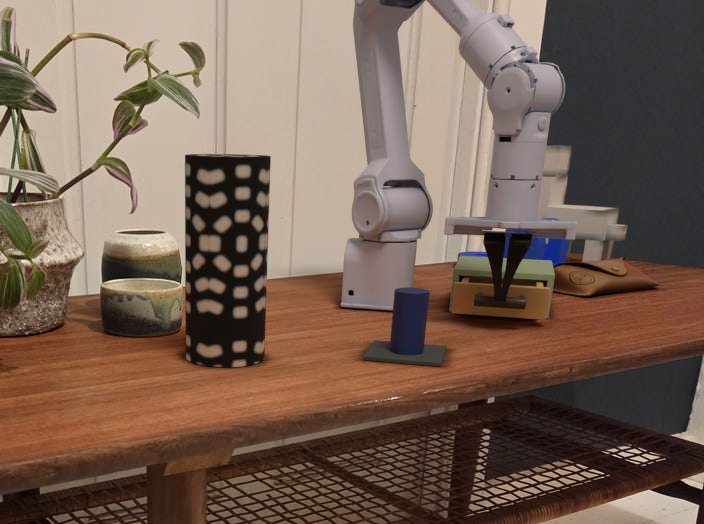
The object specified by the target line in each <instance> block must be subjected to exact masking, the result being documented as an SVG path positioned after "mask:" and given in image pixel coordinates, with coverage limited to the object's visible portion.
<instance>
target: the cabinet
mask: <svg viewBox="0 0 704 524" xmlns="http://www.w3.org/2000/svg"><path fill="white" fill-rule="evenodd" d="M457 259H458V258H457ZM506 262H507V258H503V266H502V278H504V274H505V269H506ZM464 276H477V277H492V272H491V267H490V263H489V260H488V257H475V256H460V257H459V259H458V261H457V260H456V263H455V266H454V268H453V271H452V280H451V290H450V298H449V308H448V311H449V313H450V312H452V303H453V294H454V285H455V282H462V280H463V277H464ZM513 279H528V280H543V287H550V295H549V302H548V309H547V315H546V319H549V317H550V311H551V304H552V298H553V297H552V296H553V292H554V291H553V285H554V279H555V273H554V269H553V264H552V261H551V260H532V259H522V261H521V263H520V265H519V266H518V268H517V270H516V273H515V275H514V277H513Z"/></svg>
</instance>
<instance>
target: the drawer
mask: <svg viewBox="0 0 704 524" xmlns="http://www.w3.org/2000/svg"><path fill="white" fill-rule="evenodd" d="M503 279H504V278H502V284H503ZM502 284H501V288H502ZM549 295H550V287H543V280H528V279H512V282H511V284H510V287H509V290H508V294H507V298H506V301H496V300H494V284H493V277H477V276H464V277H463V280H462V282H455V285H454V294H453V303H452V312H451V314H454V315H455V314H457V315H469V316H470V315H471V316H483V317H484V316H485V317H499V318H513V319H526V320H527V319H529V320H541V321H546V320H547V318H546V315H547V309H548V302H549Z"/></svg>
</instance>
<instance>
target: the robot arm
mask: <svg viewBox="0 0 704 524" xmlns="http://www.w3.org/2000/svg"><path fill="white" fill-rule="evenodd" d="M425 2H427V3H428V4H429V5H430V6H431V7H432V8H433V9H434V10H435V11H436V12H437V14H438V15H439V16H440V17H441V18H442V19H443V20H444V21H445V22H446V24H447V25H449V27H451V29H452V30H453V31H454V32H455V33H456V34H457V35H458V36H459V37H460V38H459V43H458V54H459V55H460V57H461V58H462V60H464V62H465V63H466V64H467V65H468V67H469V68H470V70H471V71H472V72H473V73H474V74H475V76H476V77H477V78H478V80H479V81H480V82H481V83H482V85H483V86H484V87H485V88H486V90H487V92H486V100H487V101H486V102H487V106H488V109H489V111H490V113H491V115H492V126H491V127H492V128H491V130H492V131H493V134H494V136H493V143H492V153H491V164H490V170H489V173H490V174H489V179H488V188H487V195H486V196H487V197H486V203H485V204H486V205H485V213H484V216H446V217H445V220H444V229H443V234H444V236H453V235H460V236H483V241H482V244H483V247H484V250H485V252H486V253H487V256H488V260H489V263H490V267H491V272H492V277H493V284H494V300H496V301H506V298H507V294H508V290H509V287H510V284H511V282H512V279H513V277H514V275H515V273H516V270H517V268H518V266H519V265H520V263H521V261H522V259H523V257H524V256H525V254H526V252H527V251H528V249H529V247H530V246H531V242H532V238H555V239H565V240H572V241H576V239H575V237H576V230H577V221H562V220H546V219H537V212H538V204H539V197H540V190H541V182H542V180H540V179H542V176H543V168H544V161H545V153H546V146H548V145H547V144H548V139H549V130H550V124H551V123H550V122H551V117H552V116H553V115H554V114H555V113H556V112H557V111H558V110H559V109H560V107H561V105H562V103H563V101H564V98H565V94H566V81H565V77H564V75H563V73H562V72H561V70H560V67H559V65H557V64H555V63H553V62H547V61H542V62H540V61H539V59H538V57H537V56H538V51H537V49H535V47H534V46H528V45H527V43H526V42H525V41H524V40H523V39H522V38H521V36H520V35H519V34H518V33H517V31H516V30H515V29H514V28H513V27H514V26H515V24H516V21H515V20H514V19H513V18H512V16H510V15H507V14H501V13H498V12H488V13H486V12H485V11H484V9H483V8H482V6H481V5H480V4H479V3H478V1H477V0H354V9H353V18H352V30H353V31H352V32H353V39H354V40H353V41H354V49H355V58H356V66H357V67H356V68H357V69H356V70H357V79H358V86H359V87H358V89H359V99H360V107H361V116H362V125H363V134H364V135H363V136H364V144H365V154H366V164H367V165H366V167H365V169H364V170H363V171H362V172H361V173H360V174H359V175H358V176H357V177H356V178H355V180H354V181H353V202H352V205H351V220H352V224H353V226H354V228H355V230H356V232H357V233H358V237H350V238H348V239H347V241H346V244H345V249H344V255H343V265H342V266H343V267H342V282H341V283H342V284H341V299H340V301H341V302H340V305H339V306H340V307H341V308H350V309H351V308H352V309H361V310H363V309H364V310H376V311H377V310H378V311H392V312H393V303H394V292H395V289H397V288H414V282H415V280H414V279H415V269H416V258H417V249H418V248H417V247H418V240H420V239H422V232H424V231H425V230H426V229H427V227H428V226H429V225H430V223H431V221H432V218H433V213H434V203H433V199H432V196H431V194H430V193H429V191H428V188H427V185H426V178H425V177H426V176H425V174H424V172H423V171H422V170H421V169H420V168H419V167H418V166H417V164H415V162H414V161H413V160H412V159H411V154H410V144H409V134H408V133H409V132H408V123H407V113H406V104H405V92H404V82H403V72H402V62H401V52H400V51H401V50H400V41H399V30H400V28H401V27H402V25H403V24H404V22H407V21H408V20H409V19H410V18H411V17H412V16H413V15H414V14H415V13H416V11H417V10H418V9H419V8H420V7H421V6H422V5H423V4H424V3H425ZM493 229H501V230H503V231H501V230H493ZM506 229H526V231H527V232H505V230H506ZM528 232H536V233H528ZM506 236H507V237H510V238H509V246H508V254H507V262H506V269H505V274H504V279H503V284H502V266H503V258H504V250H505V242H506ZM501 284H502V288H501Z"/></svg>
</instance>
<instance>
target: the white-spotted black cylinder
mask: <svg viewBox="0 0 704 524" xmlns="http://www.w3.org/2000/svg"><path fill="white" fill-rule="evenodd" d="M271 157H272V156H271V155H264V154H243V153H242V154H241V153H240V154H239V153H235V154H234V153H192V154H191V153H189V154H185V155H184V227H185V228H184V249H185V250H184V257H185V258H184V259H185V260H184V261H185V263H184V264H185V265H184V267H185V269H184V270H185V271H184V272H185V273H184V274H185V275H184V276H185V277H184V278H185V279H184V281H185V283H184V284H185V286H184V287H185V288H184V289H185V293H184V294H185V296H184V298H185V301H184V302H185V303H184V304H185V306H184V307H185V309H184V310H185V311H184V312H185V314H184V315H185V359H186V360H187V361H188V362H191V363H193V364H196V365H199V366H205V367H213V368H241V367H248V366H253V365H257V364H259V363H261V362H263V361H264V360H265V351H266V350H265V349H266V322H267V321H266V320H267V319H266V318H267V317H266V316H267V288H268V256H269V226H270V225H269V224H270V223H269V222H270V195H271V193H270V192H271V189H270V188H271V162H272V161H271Z"/></svg>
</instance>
